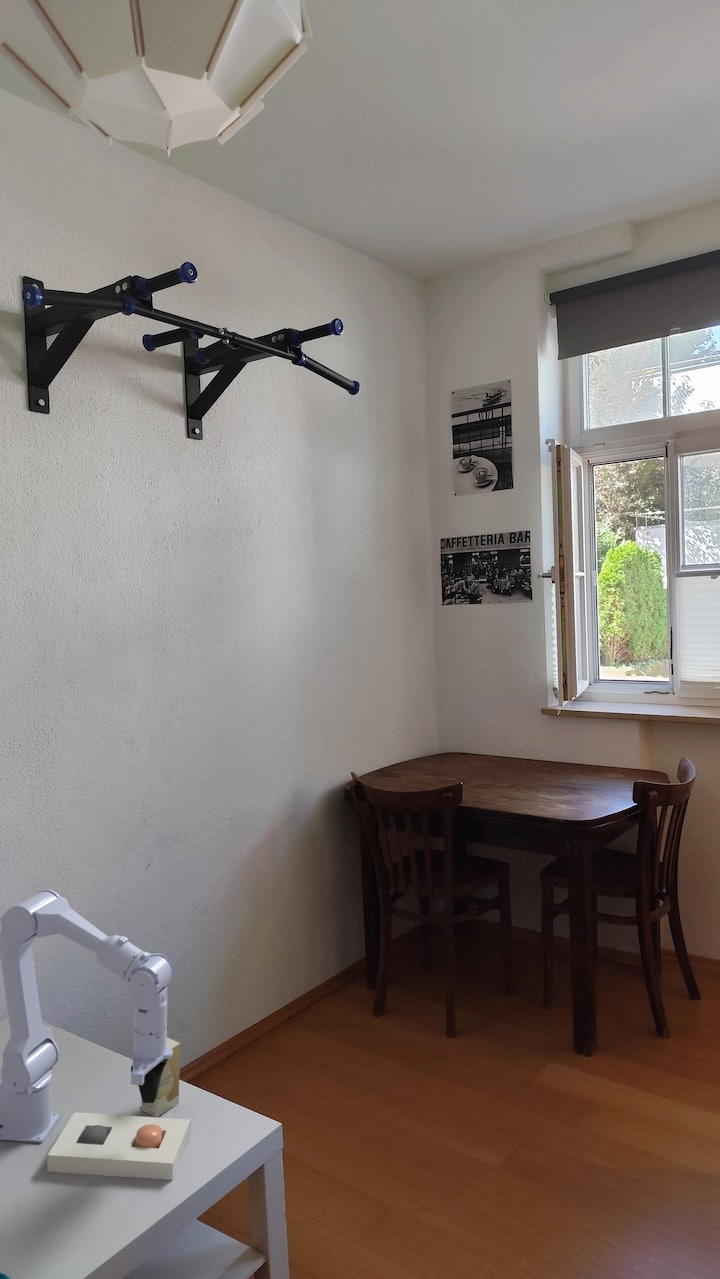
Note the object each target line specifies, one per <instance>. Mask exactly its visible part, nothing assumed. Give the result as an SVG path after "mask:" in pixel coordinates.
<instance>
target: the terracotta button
mask: <svg viewBox="0 0 720 1279" xmlns="http://www.w3.org/2000/svg"><path fill="white" fill-rule="evenodd" d="M161 1142H162V1129H161V1127H159V1126H158V1125H154V1124H150V1125H145V1126H143V1127H141V1128H139V1129H138V1131H137V1133H136V1147H142V1148H157V1149H159V1147H160V1145H161Z"/></svg>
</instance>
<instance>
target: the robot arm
mask: <svg viewBox="0 0 720 1279" xmlns="http://www.w3.org/2000/svg"><path fill="white" fill-rule="evenodd" d="M0 927H1V929H0V965H1V972H2V978H3V985H4V986H3V987H4V993H5V1000H6V1008H7V1014H8V1015H7V1016H8V1023H9V1030H10V1037H9V1039H8V1041H7V1043H6V1046H5V1048H4V1049H3V1051H2V1055H1V1056H2V1065H1V1069H0V1078H1V1082H0V1140H2V1141H11V1142H12V1141H16V1142H31V1143H42V1142H44V1140H45V1139H46V1137H47V1136H48V1134H49V1133H50V1131H51V1130H52V1129H53V1127H54V1125H55V1124H56V1122H57V1121H58V1119H59V1118H60V1113H57V1112H52V1076H53V1073H54V1070H53V1069H54V1066H56V1064H57V1063H58V1062H59V1059H60V1050H59V1049H60V1048H59V1045H58V1044H57V1042H56V1041H55V1039H54V1036H53V1030H52V1029H51V1028H49V1027H46V1026H44V1025H43V1019H42V1018H43V1017H42V1013H41V1012H42V1011H41V1005H40V997H39V992H38V991H39V990H38V985H37V976H36V969H35V962H34V956H33V948H32V944H33V943H34V941H35V940H36V939H37V938H43V937H44V938H45V937H49V936H53V935H54V936H55V935H61V936H63V937H64V938H66V939H68V940H70V941H72V942H73V943H75V944H77V945H78V946H81V947H82V948H85V949H86V950H88V951H90V952H91V953H93V954H95V955H96V959H97V964H98V965H99V966H100V967H102V968H103V969H105V970H107V971H108V972H110V973H111V974H113V975H114V976H115V977H118V978H120V979H121V980H122V981H124V983H126V984H127V988H128V991H129V993H130V994H131V996H132V1000H133V1001H132V1004H133V1043H132V1044H133V1048H132V1049H133V1050H132V1052H131V1058H132V1059H131V1060H132V1065H131V1066H130V1075H131V1076H130V1078H131V1080H130V1084H131V1085H133V1086H137V1087H138V1089H139V1093H140V1098H141V1102H142V1101H143V1103H154V1102H155V1100H156V1097H157V1093H158V1089H159V1084H160V1079H161V1076H162V1072H163V1070H164V1067H165V1065H166V1063H167V1061H168V1059H169V1058H171V1057H172V1055H173V1050H172V1049H168V1048H167V1038H168V1030H167V1029H168V1027H167V1026H168V986H167V985H168V984H169V983H170V982H171V980H172V979H173V976H174V967H173V965H172V962H171V961H170V960H169V959H168V958H167V957H166V956H165V955H164V954H162V953H160V952H159V953H158V952H156V953H150V952H147V951H144V950H142V949H141V948H139V947H137V946H136V945H134V944H133V943H132V942H130V941H129V938H128V937H126V936H124V935H122V936H121V935H119V934H115V935H110V936H108V935H107V934H105V933H104V932H103V931H101V930H100V929H99V928H98V927H96V926H95V925H94V924H92V923H91V922H89V920H87V919H85V918H84V917H83V916H81V915H80V914H79V913H78V912H76V911H75V910H73V908H71V907H70V904H69V902H68V899H67V898H66V897H63V896H62V895H59V893H57V892H56V891H54V889H53V890H52V889H48V888H47V889H43V890H40V891H39V892H37V893H36V894H34V895H33V896H31V897H29V898H28V899H26V900H24V901H22V902H20V903H18V904H16V905H13V906H11V907H10V908H9V909H7V911H5V912H4V913H3V915H2V916H1V917H0Z"/></svg>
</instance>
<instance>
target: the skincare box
mask: <svg viewBox="0 0 720 1279" xmlns="http://www.w3.org/2000/svg"><path fill="white" fill-rule="evenodd" d="M167 1048H168V1049H172V1050H173V1055H172V1057H171V1058H169V1059H168V1061H167V1063H166V1065H165V1067H164V1070H163V1072H162V1076H161V1079H160V1084H159V1089H158V1093H157V1097H156V1100H155V1102H154V1103H143V1101H142V1100H141V1111H143V1112H145V1113H147V1114H148V1115H151V1116H152V1117H157V1118H159V1116H161V1115H163V1114H164V1113H166V1112H168V1110H170V1109H172V1108H173V1107H175V1106H176V1105H177V1104H179V1102H180V1101H179V1100H180V1072H181V1071H180V1065H181V1064H180V1062H181V1043H180V1042H178V1041H176V1040H174V1039H171V1038H169V1037H167Z"/></svg>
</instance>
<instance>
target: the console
mask: <svg viewBox="0 0 720 1279" xmlns="http://www.w3.org/2000/svg"><path fill="white" fill-rule="evenodd" d="M150 1124H154V1125H158V1126H159V1127H161V1129H162V1142H161V1145H160V1147H159V1149H157V1148H142V1147H136V1133H137V1131H138V1129H139V1128H141V1127H143V1126H145V1125H150ZM94 1125H101V1126H104V1127H105V1128H106V1129H107V1138H106V1140H105V1142H104V1144H103V1145H96V1144H81V1134H82V1132H83V1131H84V1130H85V1129H86V1128H88V1127H90V1126H94ZM191 1126H192V1120H191V1119H187V1118H186V1119H185V1118H183V1119H182V1118H172V1117H171V1118H168V1117H155V1116H138V1115H122V1114H121V1115H120V1114H106V1113H105V1114H104V1113H91V1112H79V1111H78V1112H76V1111H75V1112H74V1113H72V1116H71V1117H70V1119H69V1121H68V1122H67V1123H66V1125H65V1127H64V1129H63V1130H62V1132H61V1133H60V1134H59V1136H58V1138H57V1139H56V1141H55V1143H54V1144H53V1145H52V1147H51V1149H50V1150H49V1152H48V1153H47V1155H46V1156H47V1159H46V1161H47V1162H46V1163H47V1165H46V1166H47V1169H46V1170H47V1172H48V1173H61V1174H62V1173H64V1174H77V1175H78V1174H79V1175H91V1176H108V1177H121V1178H123V1177H124V1178H136V1179H137V1178H139V1179H151V1180H153V1179H154V1180H163V1181H164V1180H165V1181H166V1180H167V1181H173V1180H174V1177H175V1175H176V1173H177V1170H178V1167H179V1165H180V1162H181V1161H182V1157H183V1156H184V1152H185V1150H186V1147H187V1145H188V1142H189V1141H190V1138H191V1133H192V1132H191V1131H192V1127H191Z"/></svg>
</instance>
